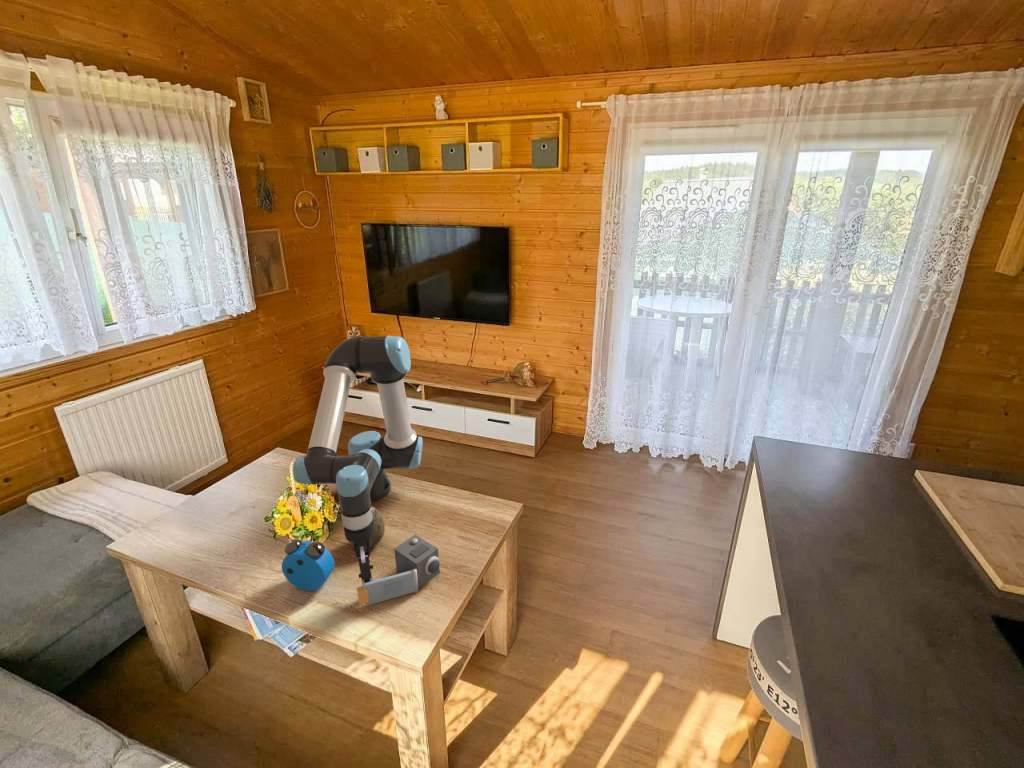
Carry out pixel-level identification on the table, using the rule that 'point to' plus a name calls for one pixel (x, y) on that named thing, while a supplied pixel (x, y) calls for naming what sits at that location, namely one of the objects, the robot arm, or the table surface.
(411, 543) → the camera body
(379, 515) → the decorative egg
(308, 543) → the alarm clock
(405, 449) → the robot arm
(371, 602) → the side door
